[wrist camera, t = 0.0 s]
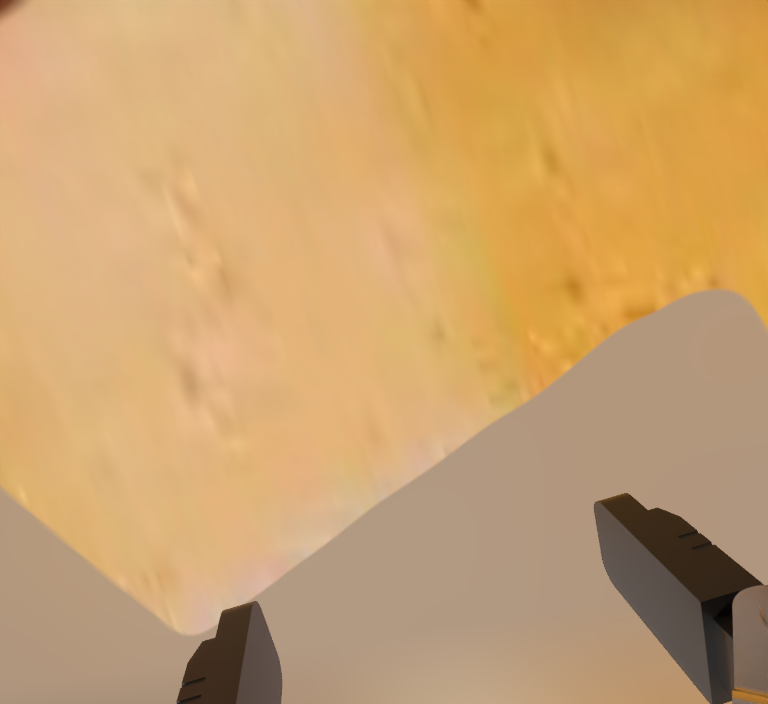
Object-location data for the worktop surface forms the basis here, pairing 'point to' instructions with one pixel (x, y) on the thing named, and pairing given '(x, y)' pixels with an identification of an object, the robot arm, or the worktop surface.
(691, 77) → the worktop surface
